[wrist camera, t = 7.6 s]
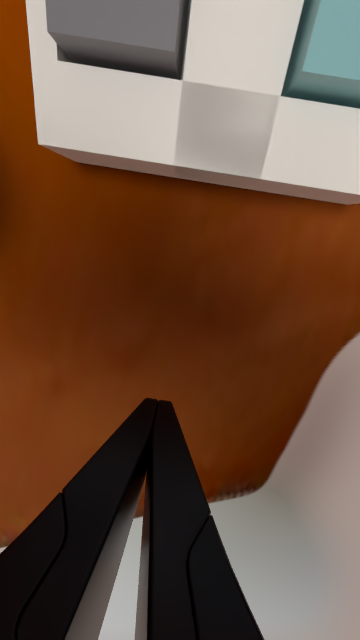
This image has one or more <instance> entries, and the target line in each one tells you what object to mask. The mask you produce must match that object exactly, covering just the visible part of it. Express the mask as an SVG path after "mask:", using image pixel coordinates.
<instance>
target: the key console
mask: <svg viewBox="0 0 360 640" xmlns="http://www.w3.org/2000/svg"><path fill="white" fill-rule="evenodd" d="M303 3H304V0H189V6H188V15H187V25H186V34H185V43H184V52H183V62H182V71H181V80H176V79H170V78H164V77H158V76H151V75H145V74H139V73H133V72H126V71H120V70H114V69H107V68H101V67H95V66H89V65H82V64H76V63H72V62H71V61H70V60H69V58H68V57H67V56H66V54H65V53H64V52H63V51H62V49H61V48H60V47H59V46H58V44H57V43H56V42H55V41H54V39H53V38H52V37H51V35H50V34H49V33H48V32H47V19H46V3H45V0H26V9H27V21H28V32H29V44H30V55H31V67H32V78H33V90H34V101H35V113H36V124H37V136H38V144H39V145H41V146H44V147H46V148H48V149H50V150H52V151H54V152H56V153H58V154H60V155H62V156H64V157H67V158H69V159H71V160H73V161H75V162H79V163H85V164H92V165H98V166H104V167H111V168H117V169H124V170H130V171H136V172H143V173H149V174H155V175H162V176H168V177H174V178H181V179H187V180H193V181H200V182H206V183H212V184H219V185H225V186H231V187H238V188H244V189H250V190H257V191H263V192H269V193H276V194H282V195H288V196H295V197H301V198H307V199H314V200H320V201H326V202H333V203H339V204H345V205H348V204H359V203H360V109H358V108H352V107H346V106H340V105H333V104H327V103H321V102H315V101H308V100H302V99H296V98H289V97H283V96H281V93H282V89H283V84H284V80H285V76H286V72H287V68H288V64H289V60H290V56H291V52H292V48H293V44H294V40H295V36H296V32H297V27H298V23H299V19H300V15H301V11H302V7H303Z"/></svg>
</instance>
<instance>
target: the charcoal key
mask: <svg viewBox="0 0 360 640" xmlns="http://www.w3.org/2000/svg"><path fill="white" fill-rule="evenodd" d="M45 3H46V19H47V32H48V33H49V34H50V35H51V37H52V38H53V39H54V41H55V42H56V43H57V44H58V46H59V47H60V48H61V49H62V51H63V52H64V53H65V54H66V56H67V57H68V58H69V60H70V61H71V62H72V63H76V64H82V65H89V66H95V67H101V68H107V69H114V70H120V71H126V72H133V73H139V74H145V75H151V76H158V77H164V78H170V79H176V80H181V71H182V62H183V52H184V43H185V34H186V25H187V15H188V6H189V0H45Z"/></svg>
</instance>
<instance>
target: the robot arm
mask: <svg viewBox="0 0 360 640" xmlns="http://www.w3.org/2000/svg"><path fill="white" fill-rule="evenodd" d="M146 471H147V474H146ZM145 476H146V484H145V498H144V513H143V527H142V541H141V542H142V543H141V556H140V570H139V585H138V600H137V614H136V629H135V640H264V638H263V636H262V634H261V631H260V629H259V627H258V625H257V623H256V621H255V619H254V616H253V614H252V612H251V610H250V608H249V606H248V603H247V601H246V599H245V596H244V594H243V592H242V590H241V587H240V585H239V583H238V581H237V578H236V576H235V573H234V572H233V569H232V567H231V564H230V562H229V559H228V556H227V554H226V551H225V549H224V546H223V544H222V541H221V538H220V536H219V533H218V530H217V528H216V525H215V522H214V519H213V516H212V515H210V514H211V511H210V508H209V505H208V503H207V500H206V497H205V494H204V491H203V489H202V486H201V483H200V480H199V477H198V475H197V472H196V469H195V466H194V463H193V461H192V458H191V455H190V452H189V449H188V447H187V444H186V441H185V438H184V435H183V433H182V430H181V427H180V424H179V421H178V419H177V416H176V413H175V410H174V407H173V405H172V403H171V402H170V401H165V400H159V402H158V400H157V399H152V398H145V399H144V400H143V401H142V402H141V404H140V405H139V406H138V407H137V408H136V409H135V410H134V411H133V412H132V413H131V415H130V416H129V417H128V418H127V419H126V420H125V421H124V422H123V423H122V424H121V426H120V427H119V428H118V429H117V430H116V431H115V432H114V433H113V434H112V435H111V437H110V438H109V439H108V440H107V441H106V442H105V443H104V444H103V445H102V446H101V448H100V449H99V450H98V451H97V452H96V453H95V454H94V455H93V456H92V457H91V459H90V460H89V461H88V462H87V463H86V464H85V465H84V466H83V467H82V468H81V469H80V471H79V472H78V473H77V474H76V475H75V476H74V477H73V478H72V479H71V480H70V482H69V483H68V484H67V485H66V486H65V487H64V488H63V490H62V493H61V492H60V493H58V495H57V496H56V497H55V498H54V499H53V500H52V501H51V502H50V503H49V505H48V506H47V507H46V508H45V509H44V510H43V511H42V512H41V513H40V514H39V515H38V516H37V517H36V518H35V519H34V520H33V522H32V523H31V524H30V525H29V526H28V527H27V528H26V529H25V530H24V531H23V532H22V533H21V534H20V535H19V536H18V537H17V538H16V539H15V540H14V541H13V542H12V543H11V544H10V545H9V546H8V547H7V548H6V549H5V550H4V551H3V552H1V553H0V640H98V636H99V634H100V630H101V627H102V623H103V620H104V616H105V613H106V610H107V606H108V603H109V599H110V596H111V592H112V589H113V586H114V582H115V579H116V576H117V572H118V569H119V565H120V562H121V558H122V555H123V552H124V548H125V545H126V542H127V538H128V535H129V531H130V528H131V525H132V521H133V518H134V514H135V511H136V508H137V504H138V501H139V497H140V494H141V490H142V487H143V484H144V480H145Z"/></svg>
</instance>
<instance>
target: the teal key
mask: <svg viewBox="0 0 360 640" xmlns="http://www.w3.org/2000/svg"><path fill="white" fill-rule="evenodd" d="M281 96H283V97H289V98H296V99H302V100H308V101H315V102H321V103H327V104H333V105H340V106H346V107H352V108H358V109H360V0H304V3H303V7H302V11H301V15H300V19H299V23H298V27H297V32H296V36H295V40H294V44H293V48H292V52H291V56H290V60H289V64H288V68H287V72H286V76H285V80H284V84H283V89H282V93H281Z"/></svg>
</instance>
